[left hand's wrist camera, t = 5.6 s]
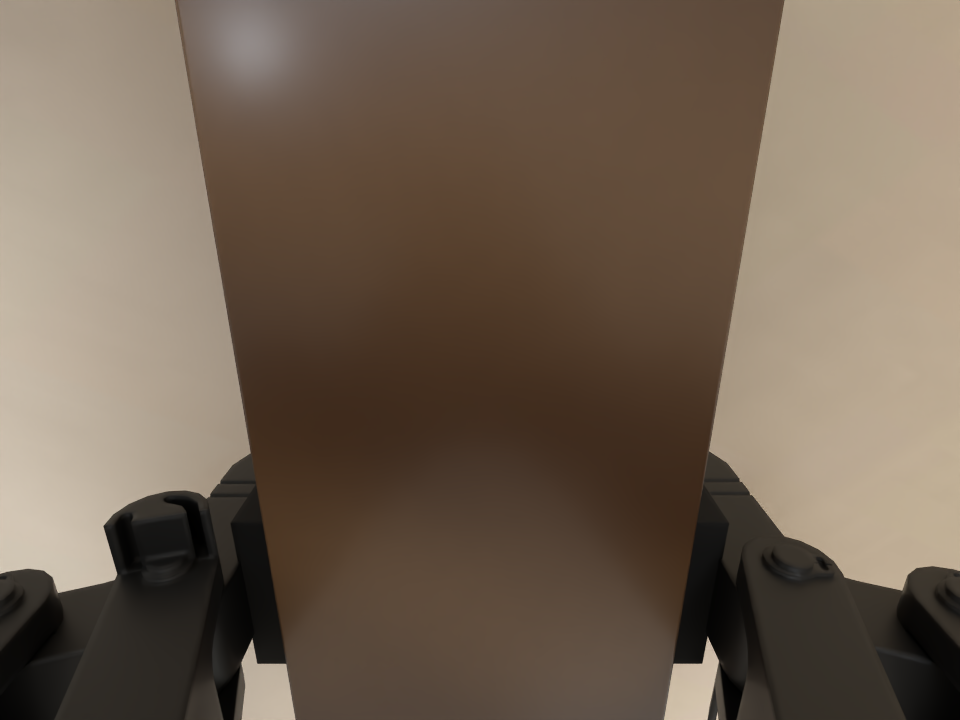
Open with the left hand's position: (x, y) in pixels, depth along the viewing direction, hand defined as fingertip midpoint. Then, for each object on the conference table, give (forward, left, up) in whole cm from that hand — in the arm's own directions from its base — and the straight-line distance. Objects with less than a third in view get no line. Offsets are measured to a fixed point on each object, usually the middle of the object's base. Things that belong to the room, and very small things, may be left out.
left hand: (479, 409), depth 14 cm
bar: (+3, +33, -1) cm, 33 cm away
